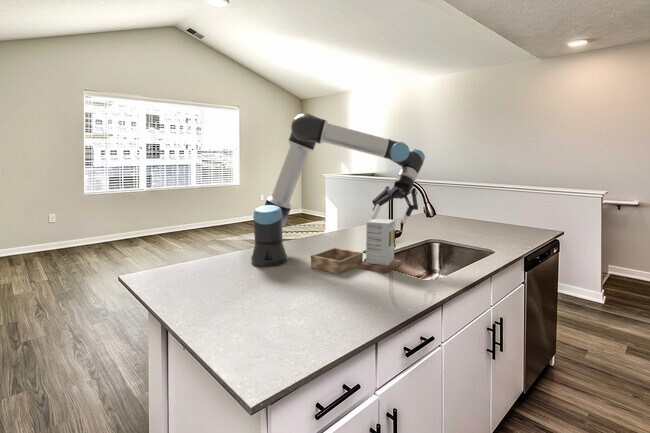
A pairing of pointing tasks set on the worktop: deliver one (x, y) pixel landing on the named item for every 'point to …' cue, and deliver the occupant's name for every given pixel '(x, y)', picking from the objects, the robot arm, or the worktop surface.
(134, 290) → the worktop surface
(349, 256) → the wooden tray
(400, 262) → the walnut board
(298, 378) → the worktop surface
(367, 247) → the supplement box
